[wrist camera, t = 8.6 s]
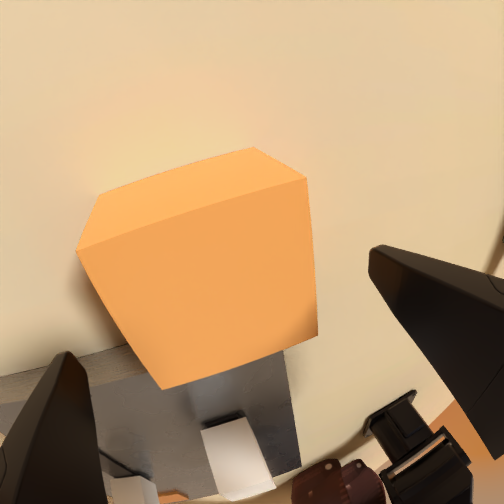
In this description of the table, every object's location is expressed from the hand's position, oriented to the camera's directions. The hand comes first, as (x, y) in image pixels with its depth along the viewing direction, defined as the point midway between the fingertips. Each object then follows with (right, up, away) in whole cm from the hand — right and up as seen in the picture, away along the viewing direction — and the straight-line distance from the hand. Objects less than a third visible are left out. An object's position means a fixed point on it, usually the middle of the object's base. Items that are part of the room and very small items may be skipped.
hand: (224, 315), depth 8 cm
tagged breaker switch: (-8, -16, +8) cm, 20 cm away
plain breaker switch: (-1, -9, +7) cm, 11 cm away
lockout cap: (-1, +2, +3) cm, 4 cm away
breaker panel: (-5, -12, +10) cm, 17 cm away
